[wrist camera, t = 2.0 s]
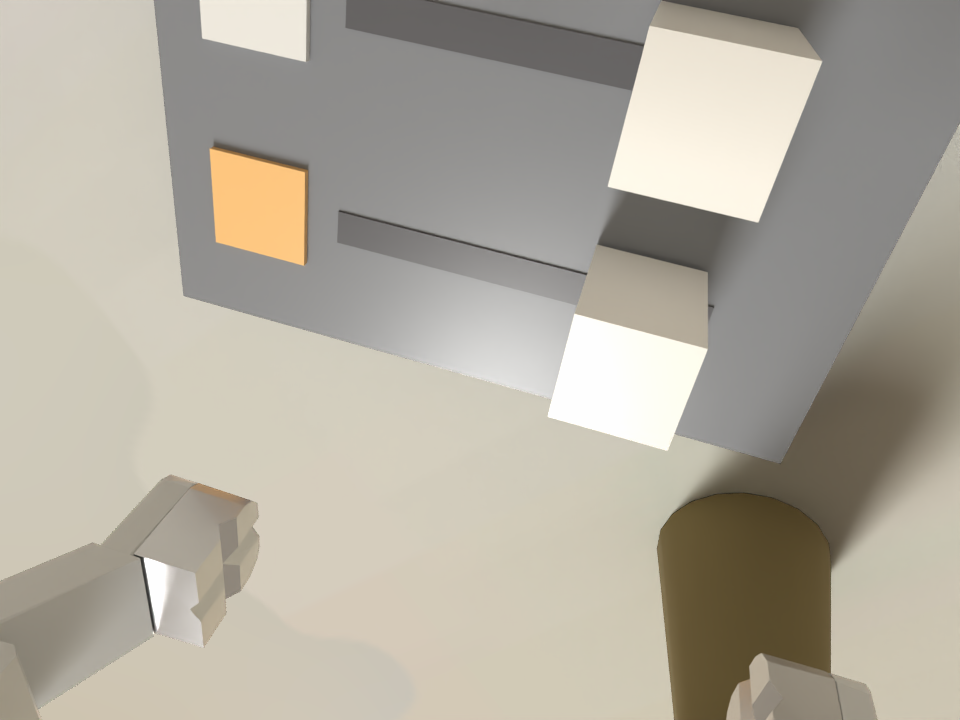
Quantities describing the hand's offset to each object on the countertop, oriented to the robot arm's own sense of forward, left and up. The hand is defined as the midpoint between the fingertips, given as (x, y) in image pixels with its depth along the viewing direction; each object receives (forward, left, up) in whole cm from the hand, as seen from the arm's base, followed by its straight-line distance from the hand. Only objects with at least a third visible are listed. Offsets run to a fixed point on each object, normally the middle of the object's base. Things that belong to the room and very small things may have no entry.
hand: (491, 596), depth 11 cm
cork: (-8, +10, -13) cm, 18 cm away
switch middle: (-1, -6, -11) cm, 12 cm away
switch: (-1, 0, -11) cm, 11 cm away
